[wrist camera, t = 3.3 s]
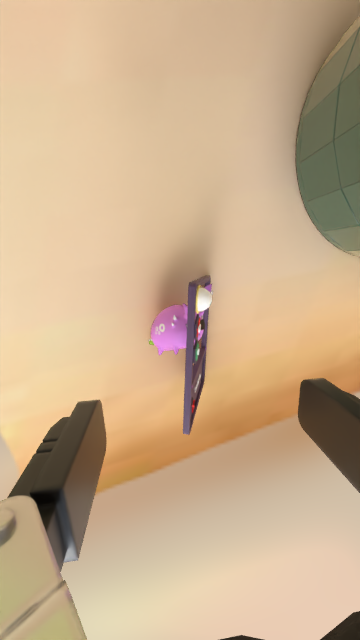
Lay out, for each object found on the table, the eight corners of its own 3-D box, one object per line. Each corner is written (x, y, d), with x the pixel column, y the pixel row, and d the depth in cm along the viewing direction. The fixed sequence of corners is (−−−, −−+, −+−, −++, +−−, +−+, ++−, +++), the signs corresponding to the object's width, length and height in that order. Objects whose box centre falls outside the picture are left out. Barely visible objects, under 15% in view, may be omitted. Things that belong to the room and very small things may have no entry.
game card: (201, 438, 14) (210, 283, 11) (119, 422, 15) (114, 278, 13) (212, 382, 20) (220, 276, 18) (155, 374, 21) (155, 273, 19)
